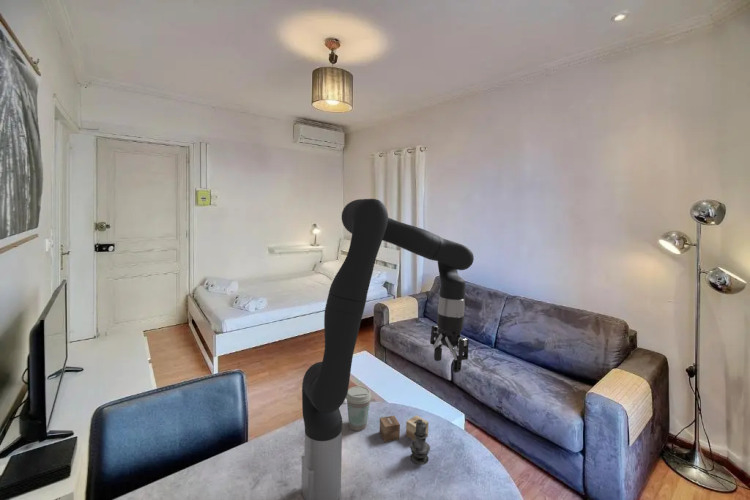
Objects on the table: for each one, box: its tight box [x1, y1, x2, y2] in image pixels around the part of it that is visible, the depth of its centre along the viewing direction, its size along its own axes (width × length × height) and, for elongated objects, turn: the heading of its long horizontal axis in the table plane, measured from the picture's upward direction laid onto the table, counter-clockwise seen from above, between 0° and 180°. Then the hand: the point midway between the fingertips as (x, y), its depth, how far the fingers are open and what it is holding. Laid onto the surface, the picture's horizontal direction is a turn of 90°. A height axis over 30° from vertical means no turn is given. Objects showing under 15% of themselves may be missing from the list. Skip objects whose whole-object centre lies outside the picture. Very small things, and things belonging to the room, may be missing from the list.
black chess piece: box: [409, 420, 431, 466], centre depth 100 cm, size 6×6×12 cm
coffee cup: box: [345, 385, 372, 432], centre depth 114 cm, size 8×8×12 cm
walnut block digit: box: [379, 415, 401, 443], centre depth 110 cm, size 5×5×5 cm
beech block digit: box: [405, 414, 430, 441], centre depth 110 cm, size 5×5×5 cm
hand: (446, 365), depth 102 cm, fingers open, 8 cm apart
